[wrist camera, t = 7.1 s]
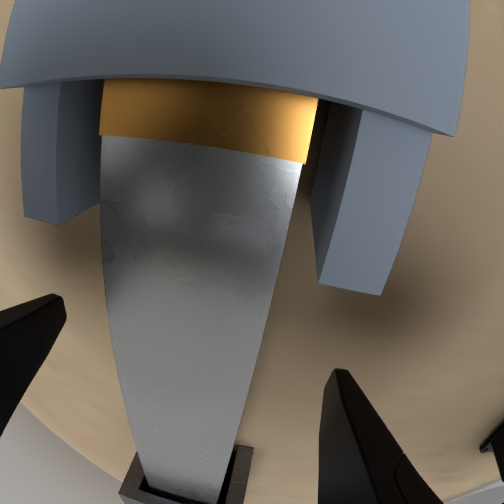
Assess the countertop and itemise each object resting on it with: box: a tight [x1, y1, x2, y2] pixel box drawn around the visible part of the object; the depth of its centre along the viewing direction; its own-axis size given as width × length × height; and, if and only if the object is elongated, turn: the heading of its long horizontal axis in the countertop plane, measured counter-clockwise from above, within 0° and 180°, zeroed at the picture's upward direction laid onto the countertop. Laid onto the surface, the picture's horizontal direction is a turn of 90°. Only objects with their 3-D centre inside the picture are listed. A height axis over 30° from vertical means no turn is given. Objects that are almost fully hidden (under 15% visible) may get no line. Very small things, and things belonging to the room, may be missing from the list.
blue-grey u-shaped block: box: [0, 0, 470, 296], centre depth 6 cm, size 8×6×6 cm
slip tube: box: [99, 78, 318, 504], centre depth 12 cm, size 4×22×4 cm, turn 171°
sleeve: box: [118, 445, 254, 504], centre depth 17 cm, size 7×13×6 cm, turn 171°
